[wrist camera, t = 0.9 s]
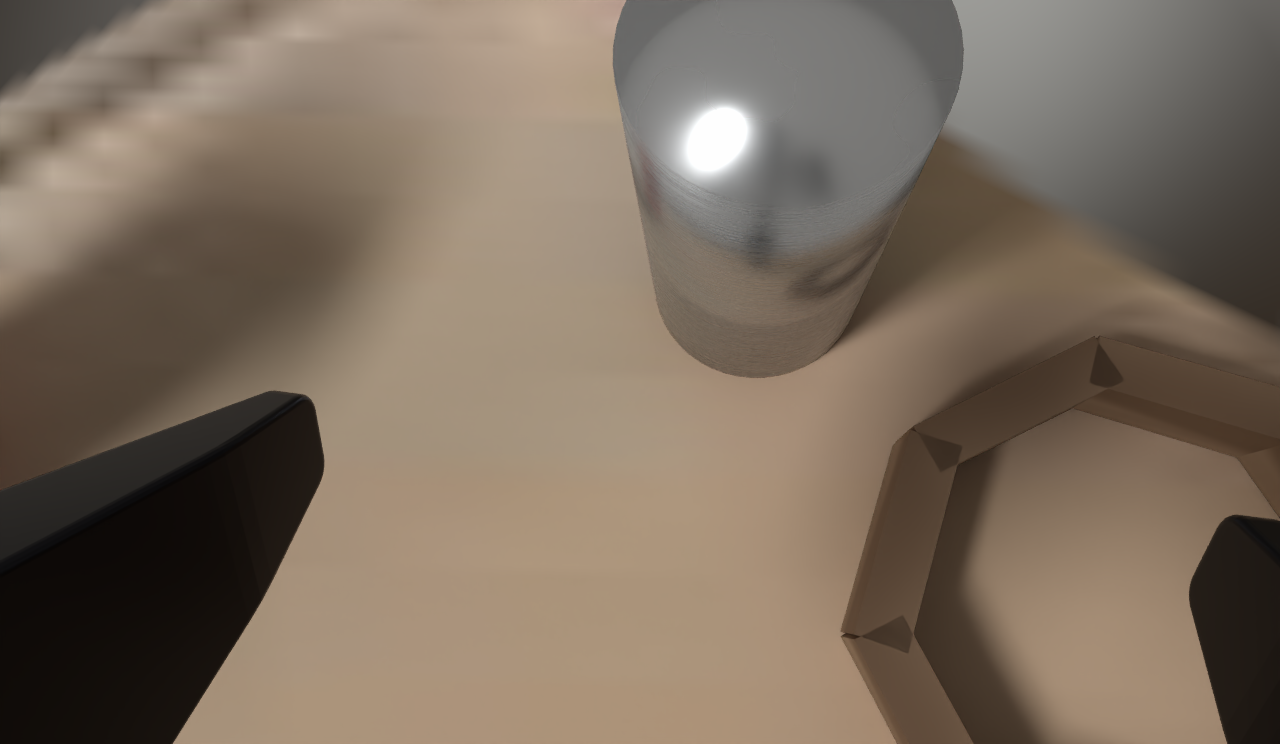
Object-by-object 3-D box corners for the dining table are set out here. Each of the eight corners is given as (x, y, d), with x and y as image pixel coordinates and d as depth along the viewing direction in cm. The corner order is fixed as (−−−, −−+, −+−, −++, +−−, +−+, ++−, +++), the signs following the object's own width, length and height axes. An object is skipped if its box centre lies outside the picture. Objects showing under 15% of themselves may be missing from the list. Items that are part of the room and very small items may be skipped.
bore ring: (1509, 752, 19) (1601, 769, 17) (1034, 1005, 18) (1072, 1053, 16) (1180, 300, 22) (1225, 270, 20) (771, 503, 21) (777, 493, 19)
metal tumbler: (896, 321, 22) (1033, 107, 13) (710, 412, 22) (708, 264, 12) (796, 158, 24) (852, -143, 14) (621, 241, 24) (558, -8, 14)
